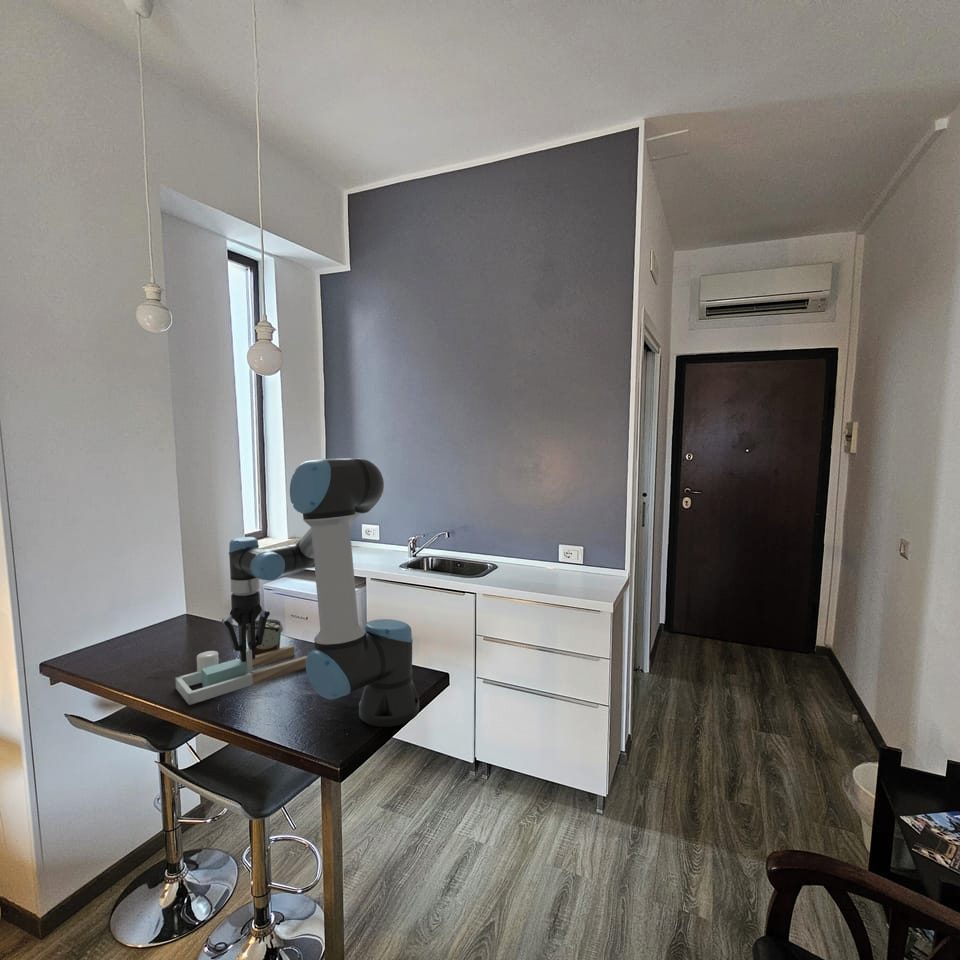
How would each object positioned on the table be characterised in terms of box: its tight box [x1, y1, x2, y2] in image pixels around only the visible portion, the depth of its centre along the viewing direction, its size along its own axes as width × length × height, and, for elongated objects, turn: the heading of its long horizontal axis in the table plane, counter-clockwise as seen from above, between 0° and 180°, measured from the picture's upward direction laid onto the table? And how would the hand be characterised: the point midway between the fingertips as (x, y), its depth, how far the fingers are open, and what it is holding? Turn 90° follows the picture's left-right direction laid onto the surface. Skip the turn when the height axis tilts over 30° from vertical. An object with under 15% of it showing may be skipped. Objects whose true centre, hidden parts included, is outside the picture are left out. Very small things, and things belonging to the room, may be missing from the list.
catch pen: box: [174, 671, 254, 706], centre depth 148 cm, size 12×16×3 cm
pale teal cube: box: [201, 663, 227, 688], centre depth 148 cm, size 5×5×5 cm
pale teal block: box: [219, 657, 246, 680], centre depth 151 cm, size 5×5×5 cm
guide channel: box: [243, 645, 307, 686], centre depth 159 cm, size 12×17×3 cm
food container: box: [246, 618, 284, 655], centre depth 171 cm, size 12×6×10 cm, turn 84°
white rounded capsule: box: [196, 650, 220, 672], centre depth 155 cm, size 6×6×6 cm
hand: (248, 670), depth 154 cm, fingers closed
